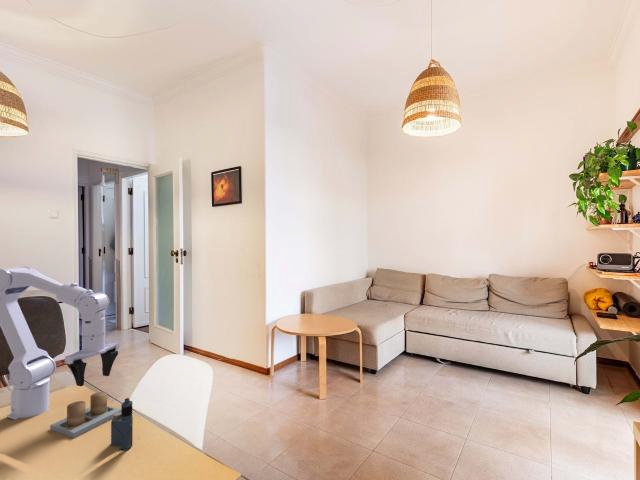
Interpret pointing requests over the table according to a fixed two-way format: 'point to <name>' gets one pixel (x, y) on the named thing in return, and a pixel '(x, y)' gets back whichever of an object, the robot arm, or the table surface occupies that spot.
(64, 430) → the grey divided tray
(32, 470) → the table surface
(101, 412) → the sleeve seated
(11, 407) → the robot arm
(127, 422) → the vaping device
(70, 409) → the sleeve
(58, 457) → the table surface
